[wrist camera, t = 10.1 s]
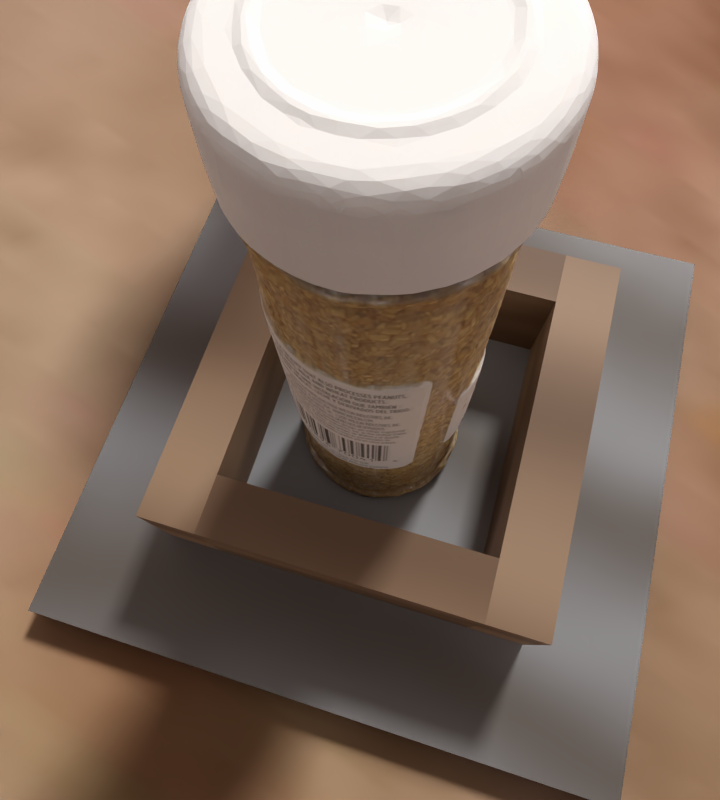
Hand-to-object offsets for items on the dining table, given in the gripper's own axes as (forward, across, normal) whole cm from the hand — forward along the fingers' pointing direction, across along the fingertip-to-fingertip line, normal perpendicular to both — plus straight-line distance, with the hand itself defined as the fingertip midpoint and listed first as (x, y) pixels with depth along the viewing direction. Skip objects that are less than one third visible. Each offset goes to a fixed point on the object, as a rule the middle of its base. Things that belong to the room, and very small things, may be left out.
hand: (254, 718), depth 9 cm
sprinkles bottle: (+11, 0, +1) cm, 11 cm away
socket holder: (+12, 0, +1) cm, 12 cm away
